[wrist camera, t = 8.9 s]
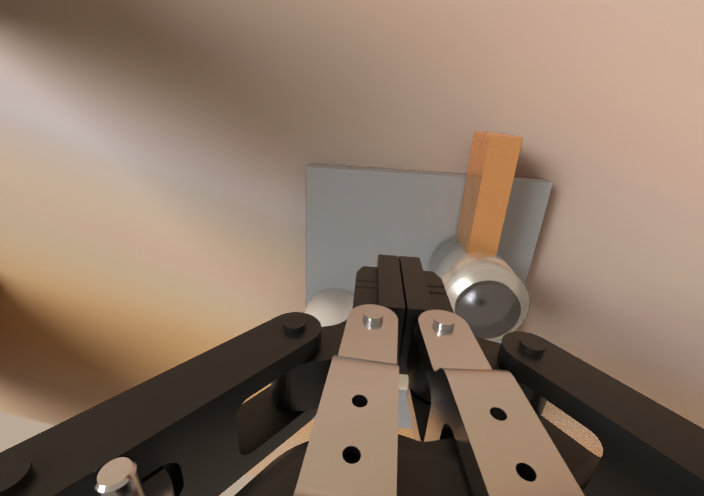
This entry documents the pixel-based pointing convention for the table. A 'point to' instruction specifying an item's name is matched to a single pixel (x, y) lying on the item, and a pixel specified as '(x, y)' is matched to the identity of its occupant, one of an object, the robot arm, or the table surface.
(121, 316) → the table surface
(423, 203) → the levelling plate
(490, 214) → the knob
